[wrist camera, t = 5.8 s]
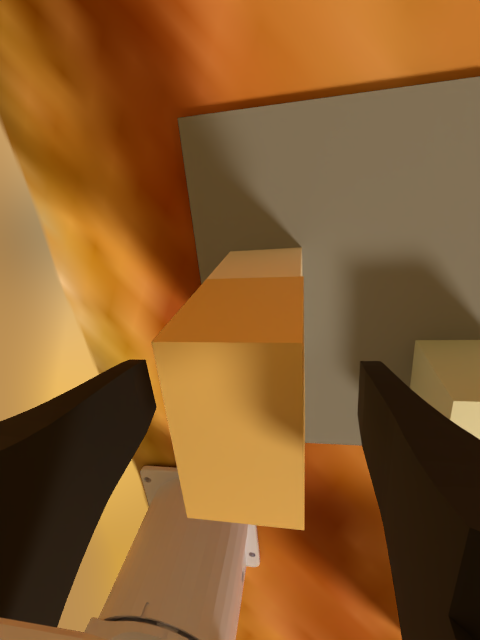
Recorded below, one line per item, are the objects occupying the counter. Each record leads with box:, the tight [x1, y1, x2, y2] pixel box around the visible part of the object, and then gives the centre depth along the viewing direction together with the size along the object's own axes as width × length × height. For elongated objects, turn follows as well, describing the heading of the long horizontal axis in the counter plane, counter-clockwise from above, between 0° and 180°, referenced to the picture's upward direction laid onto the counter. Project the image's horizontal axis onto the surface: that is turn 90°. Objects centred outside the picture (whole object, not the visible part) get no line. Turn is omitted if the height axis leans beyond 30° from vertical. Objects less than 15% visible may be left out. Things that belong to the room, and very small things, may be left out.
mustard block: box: [152, 276, 305, 530], centre depth 11 cm, size 6×4×5 cm, turn 5°
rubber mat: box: [178, 76, 480, 445], centre depth 17 cm, size 18×18×1 cm
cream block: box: [207, 247, 302, 279], centre depth 16 cm, size 6×4×5 cm, turn 5°
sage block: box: [410, 340, 480, 439], centre depth 16 cm, size 6×4×5 cm, turn 5°
